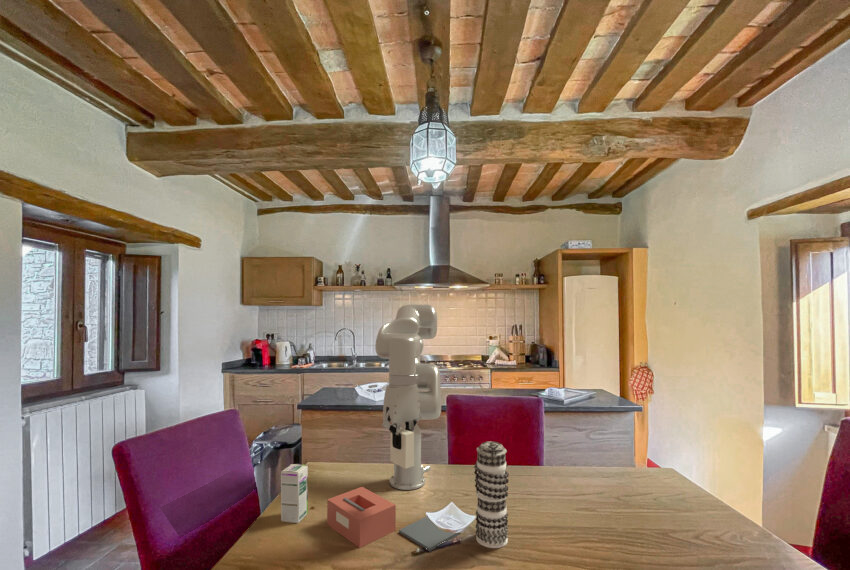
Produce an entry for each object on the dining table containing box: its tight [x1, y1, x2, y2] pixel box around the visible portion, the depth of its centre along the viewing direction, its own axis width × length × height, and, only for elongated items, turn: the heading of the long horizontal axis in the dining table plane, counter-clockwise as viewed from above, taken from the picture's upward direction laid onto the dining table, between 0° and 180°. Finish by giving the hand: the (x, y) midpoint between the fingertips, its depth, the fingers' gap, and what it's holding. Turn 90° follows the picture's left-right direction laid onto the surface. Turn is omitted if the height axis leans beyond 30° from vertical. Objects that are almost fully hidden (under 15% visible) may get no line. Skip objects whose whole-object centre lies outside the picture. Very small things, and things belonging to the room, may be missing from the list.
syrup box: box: [280, 463, 309, 524], centre depth 123 cm, size 6×6×14 cm
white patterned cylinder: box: [473, 440, 509, 549], centre depth 113 cm, size 9×9×25 cm
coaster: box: [398, 515, 460, 552], centre depth 115 cm, size 12×12×1 cm
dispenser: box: [326, 486, 397, 549], centre depth 118 cm, size 12×16×7 cm
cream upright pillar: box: [389, 428, 414, 469], centre depth 117 cm, size 3×7×9 cm, turn 41°
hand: (402, 446), depth 117 cm, fingers closed on cream upright pillar, 3 cm apart
